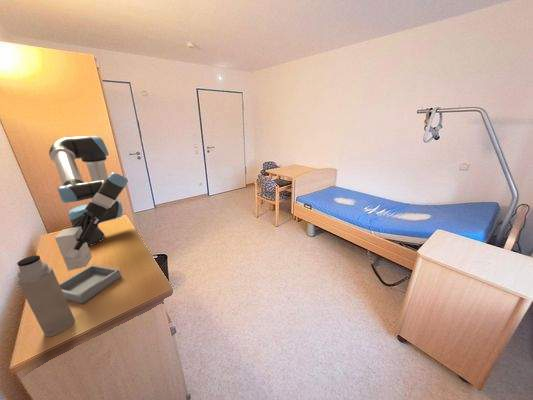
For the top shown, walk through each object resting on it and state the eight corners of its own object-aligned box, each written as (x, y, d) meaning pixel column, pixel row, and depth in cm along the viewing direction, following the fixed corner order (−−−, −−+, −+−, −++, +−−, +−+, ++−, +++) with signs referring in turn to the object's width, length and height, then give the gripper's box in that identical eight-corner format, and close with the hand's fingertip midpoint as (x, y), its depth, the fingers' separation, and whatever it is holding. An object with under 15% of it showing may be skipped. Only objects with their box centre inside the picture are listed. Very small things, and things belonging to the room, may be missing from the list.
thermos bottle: (37, 336, 72) (0, 267, 63) (60, 317, 80) (29, 252, 71) (60, 336, 72) (26, 266, 63) (80, 316, 79) (52, 251, 71)
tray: (95, 272, 105) (92, 264, 104) (121, 277, 101) (119, 269, 99) (54, 297, 90) (51, 288, 89) (83, 304, 85) (79, 296, 84)
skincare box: (75, 260, 94) (62, 229, 89) (93, 256, 96) (82, 225, 91) (67, 271, 86) (53, 237, 81) (87, 266, 89) (74, 233, 84)
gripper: (118, 213, 90) (85, 264, 83) (100, 204, 103) (69, 247, 96) (100, 205, 84) (62, 259, 77) (83, 197, 97) (49, 242, 90)
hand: (66, 253), depth 87 cm, fingers closed on skincare box, 10 cm apart
